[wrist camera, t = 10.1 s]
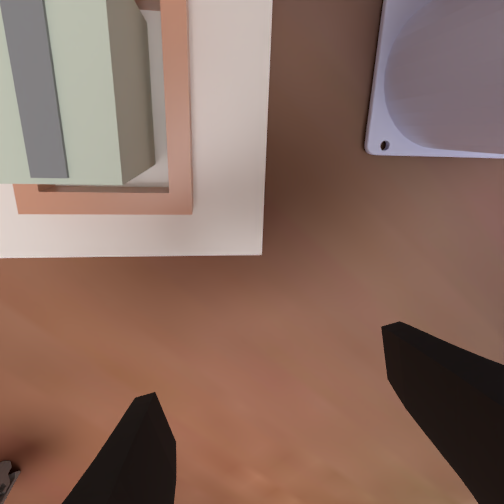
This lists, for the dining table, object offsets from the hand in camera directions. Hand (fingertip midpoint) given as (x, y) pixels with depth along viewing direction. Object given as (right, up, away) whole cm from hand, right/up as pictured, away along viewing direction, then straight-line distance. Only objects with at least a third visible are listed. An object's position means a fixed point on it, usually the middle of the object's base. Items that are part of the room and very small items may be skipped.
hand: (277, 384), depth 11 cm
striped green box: (-7, +11, +5) cm, 14 cm away
